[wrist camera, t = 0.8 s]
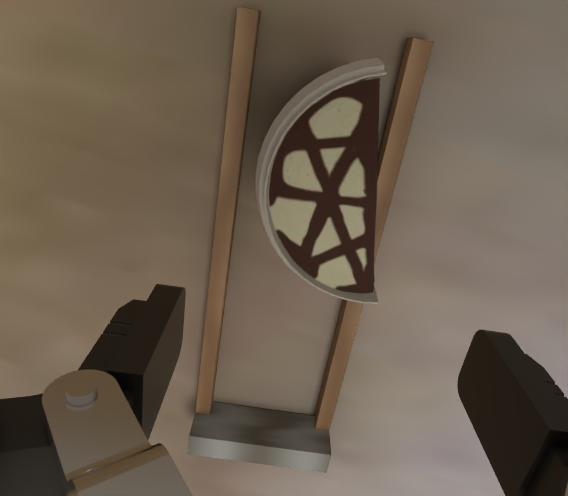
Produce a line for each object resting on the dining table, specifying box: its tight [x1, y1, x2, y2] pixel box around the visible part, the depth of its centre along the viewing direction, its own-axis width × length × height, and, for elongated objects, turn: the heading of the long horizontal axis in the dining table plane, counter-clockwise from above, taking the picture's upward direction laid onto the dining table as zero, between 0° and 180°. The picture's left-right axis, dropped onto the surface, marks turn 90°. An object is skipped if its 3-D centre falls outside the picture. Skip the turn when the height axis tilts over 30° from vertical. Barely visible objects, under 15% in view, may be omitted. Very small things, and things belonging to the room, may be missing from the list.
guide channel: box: [187, 7, 434, 473], centre depth 32 cm, size 11×32×4 cm, turn 171°
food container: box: [255, 57, 387, 304], centre depth 26 cm, size 12×6×10 cm, turn 3°
